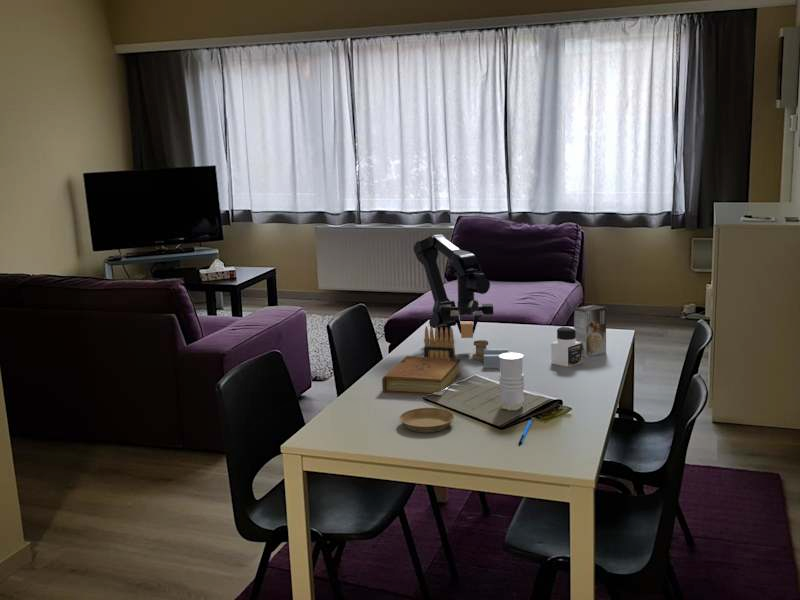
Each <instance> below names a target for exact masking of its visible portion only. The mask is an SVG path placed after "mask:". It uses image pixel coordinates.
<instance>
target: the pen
mask: <svg viewBox="0 0 800 600" xmlns="http://www.w3.org/2000/svg"><path fill="white" fill-rule="evenodd" d="M532 423H533V419H529V420H528V422H527V424H526V426H525V429H524V431H523V432H522V435H521V436H520V439H519V441H518V447H521V445H523V443H524V441H525V439H526V437H527V434H528V432H529V431H530V427H531V426H532Z"/></svg>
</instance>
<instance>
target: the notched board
mask: <svg viewBox="0 0 800 600" xmlns="http://www.w3.org/2000/svg"><path fill="white" fill-rule="evenodd" d="M503 353H509V348H486V349H484V360H483V368H484V369H500V358H499V355H500V354H503Z"/></svg>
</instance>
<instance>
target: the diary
mask: <svg viewBox="0 0 800 600" xmlns="http://www.w3.org/2000/svg"><path fill="white" fill-rule="evenodd" d="M460 362H461V358H459V357H458V358H457V357H455V358H438V357H424V356H412V355H407V356H406V357H404V358H403V359H402V360H401V361H400V362H399V363H397V364H396V365H395V366H394V367H393V368H392V369H391V370H389V371H388V373H386V374H385V375H384V376H383V377H382V378H381V384H382V385H381V388H382V392H383V393H387V394H388V393H389V394H401V395H402V394H403V395H404V394H406V395H407V394H408V395H423V396H429V395H428V394H433V393H435V392H439V391H441V390H443V389H445V388H446V387H448V386H450V385H451V384H452V385H453V384H454V382H455V381H456V380H457V379H458V378H459V377H460V376H461V374H462V372H461V371H460V372H459V364H460ZM452 385H451V386H452ZM451 386H450V387H451Z"/></svg>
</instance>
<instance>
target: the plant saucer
mask: <svg viewBox="0 0 800 600" xmlns="http://www.w3.org/2000/svg"><path fill="white" fill-rule="evenodd" d="M454 419H455V415H454V413H453V412H451V411H450V410H447V409H445V408H440V407H419V408H415V409H414V408H413V409H410V410H407V411H405V412H402V413H401V414H400V415H399V421H400V422H401V423H402V425H404V427H406V428H407V429H409V430H410V431H413V432H418V433H435V432H438V431H439V432H440V431H442V430H444V429H446V428H447V427H449V425H450V424H452V423H453V421H454Z"/></svg>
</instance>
